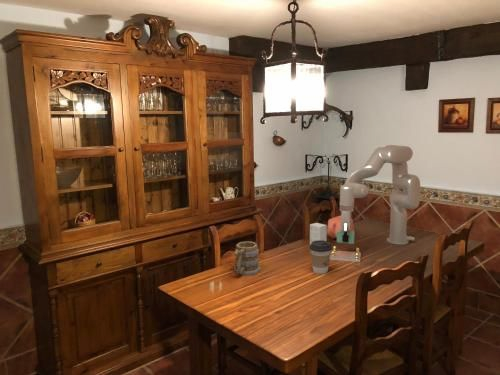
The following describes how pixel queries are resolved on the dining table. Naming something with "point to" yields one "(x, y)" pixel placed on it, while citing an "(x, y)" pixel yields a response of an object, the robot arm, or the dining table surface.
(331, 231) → the teapot
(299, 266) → the dining table surface
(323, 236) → the small box
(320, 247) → the coffee cup
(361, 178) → the robot arm
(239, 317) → the dining table surface
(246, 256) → the tankard
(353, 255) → the chassis plate
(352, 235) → the block
